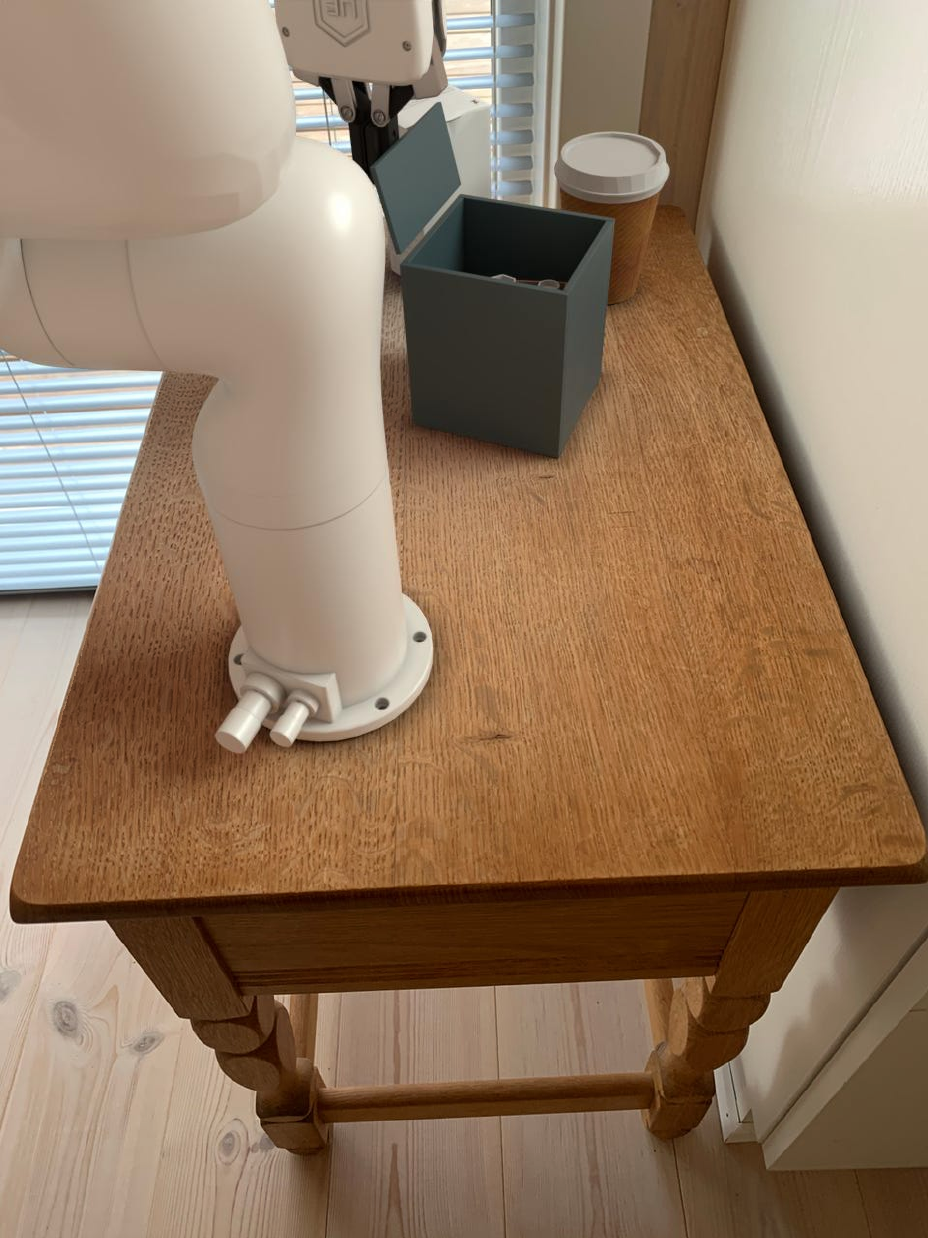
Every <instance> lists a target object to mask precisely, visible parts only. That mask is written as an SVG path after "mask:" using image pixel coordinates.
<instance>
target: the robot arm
mask: <svg viewBox="0 0 928 1238" xmlns="http://www.w3.org/2000/svg"><path fill="white" fill-rule="evenodd" d="M273 6H274V12H273V9H272V6H271V3H270V0H0V350H1V351H3V352H5V353H7V354H8V355H11V356H12V357H15V358H17V359H20V360H22V361H24V362H28V363H32V364H35V365H39V366H45V367H52V368H58V369H59V368H61V369H74V370H75V369H76V370H77V369H79V370H93V371H94V370H95V371H96V370H97V371H99V370H100V371H129V372H130V371H133V372H134V371H136V372H169V373H170V372H171V373H175V374H189V375H190V374H191V375H204V376H209V377H213V378H216V379H218V380H217V382H216V383H215V384H214V386H213V388H212V389H211V391H210V393H209V394H208V396H207V398H206V399H205V401H204V403H202V406H201V409H200V411H199V413H198V415H197V418H196V421H195V424H194V427H193V431H192V432H193V433H192V441H191V456H192V457H191V458H192V463H193V468H194V471H195V476H196V479H197V483H198V486H199V489H200V492H201V494H202V497H203V501H204V505H205V508H206V511H207V514H208V518H209V521H210V524H211V527H212V530H213V535H214V536H215V537H214V538H215V541H216V544H217V547H218V551H219V554H220V557H221V561H222V564H223V567H224V570H225V574H226V577H227V581H228V584H229V586H230V587H229V588H230V591H231V594H232V597H233V600H234V603H235V604H234V605H235V608H236V611H237V614H238V617H239V618H238V619H239V620H240V626H239V627H238V629H237V630H236V633H235V634H234V636H233V640H232V642H231V644H230V648H229V653H228V659H227V660H228V675H229V679H230V682H231V685H232V689H233V691H234V693H235V695H236V697H237V700H238V702H237V704H235V706H234V707H233V708H232V709H231V710H230V712H229V713H228V715H226V717H225V719H224V720H223V721H222V723H221V725H220V726H219V727H218V729H217V730H216V732H215V733H214V738H215V740H216V741H217V743H218V744H219V745H220V747H223V748H224V749H225V750H227V751H229V752H231V753H234V754H240V755H241V754H244V753H246V751H247V750H248V748H249V747H250V745H251V743H252V742H253V740H254V739H255V737H256V736H257V734H258V733H259V731H260V730H261V727H262V726H263V727H264V728H267V729H269V730H270V732H269V737H270V740H271V741H273V742H274V743H275V744H276V745H278V746H280V747H283V748H287V749H288V748H290V747H292V745H293V744H294V742H295V741H296V740H300V741H312V742H330V741H333V742H334V741H341V740H346V739H350V738H351V739H352V738H355V737H359V736H362V735H365V734H367V733H370V732H372V731H376V730H378V729H379V728H381V727H384V726H385V725H387V724H388V723H390V722H392V721H393V720H395V719H397V718H398V717H399V716H400V715H402V713H404V712H405V711H406V710H407V709H409V708H410V707H411V705H412V704H413V703H414V702H415V701H416V700H417V698H418V697H419V696H420V695H421V694H422V692H423V690H424V688H425V686H426V685H427V683H428V681H429V679H430V675H431V672H432V668H433V665H434V643H433V634H432V630H431V627H430V625H429V621H428V618H427V616H425V614H424V613H423V611H422V610H421V608H420V607H419V605H418V604H416V603H415V602H414V601H413V599H411V598H410V596H409V595H407V594H405V593H403V587H402V578H401V577H402V576H401V569H400V559H399V551H398V542H397V531H396V524H395V523H396V522H395V513H394V505H393V504H394V503H393V497H392V488H391V487H392V486H391V478H390V469H389V461H388V451H387V441H386V434H385V433H386V432H385V423H384V412H383V411H384V410H383V401H382V382H381V381H382V378H381V339H382V338H381V337H382V323H383V322H382V321H383V303H384V288H385V270H386V233H385V223H384V217H383V216H384V214H383V210H382V206H381V203H380V200H379V197H378V193H377V190H376V187H374V185H375V183H374V180H373V177H372V174H371V170H370V167H371V166H372V165H373V164H374V163H375V162H376V161H377V160H378V159H379V158H380V157H381V156H382V155H383V154H384V153H385V152H386V151H387V150H388V149H389V148H390V147H391V146H393V145H394V144H395V143H396V142H397V141H398V140H399V127H398V113H399V112H400V111H401V110H402V109H403V108H404V106H405V105H406V104H407V103H408V102H409V101H410V100H415V99H416V100H419V99H426V98H432V97H437V96H439V95H440V94H441V93H442V92H443V91H444V90H445V89H446V87H447V85H448V84H449V80H448V76H447V72H446V67H445V64H444V59H443V58H444V56H445V55H446V51H447V44H448V28H447V27H448V25H447V24H448V22H447V7H446V0H273ZM289 67H290V68H291V71H292V74H293V76H294V78H296V79H297V80H300V81H302V82H304V83H307V84H310V85H311V86H313V87H314V86H315V87H316V88H319V87H320V88H321V90H323V92H324V93H325V94H326V95H327V97H329V99H330V100H331V101H332V102H333V103H334V104H335V106H336V107H337V111H338V115H339V117H340V118H341V120H342V121H344V122H345V123H347V126H348V134H349V143H350V152H351V157H350V156H349V155H347V154H345V152H343V151H342V150H341V151H340V150H339V149H337V148H335V147H334V146H332V145H329V144H327V143H324V142H322V141H319V140H316V139H312V138H309V137H305V136H299V135H297V103H296V95H295V89H294V85H293V80H292V75H291V71H290V68H289ZM370 84H371V85H370Z"/></svg>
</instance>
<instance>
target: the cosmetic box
mask: <svg viewBox="0 0 928 1238" xmlns="http://www.w3.org/2000/svg"><path fill="white" fill-rule="evenodd" d="M436 102H441V104H442V108H443V112H444V116H445V120H446V124H447V128H448V132H449V136H450V140H451V144H452V148H453V152H454V156H455V160H456V164H457V168H458V172H459V176H460V181H461V186H460V187H459V188H458V189H457V190H456V191H455V192H454V194H453V195H452V196H451V197H450V198H449V199H448V201H447V202H446V203H445V204H444V205H443V206H442V208H441V209H440V210H439V211H438V212H437V213H436V214H435V216H434V217H433V218H432V219H431V220H430V221H429V223H428V224H427V225H426V226H425V227H424V228H423V230H422V231H421V232H420V233H419V234H418V235H417V236H416V238H415V239H414V240H413V241H412V242H411V243H410V245H409V246H408V247H407V248H406V249H405V250H404V251H403V253H402V254H398V255H396V252H395V249H394V246H393V242H392V239H391V236H390V232H389V229H388V226H387V225H386V228H387V229H386V230H387V239H388V247H389V248H388V251H389V258H390V259H389V261H390V267H391V270H392V272H393V273H396V275H398V276H400V277H401V274H400V264H401V263H402V262H403V260H404V259H405V258H406V257H407V256H408V254H409V253H410V252H411V251H412V250H413V249H414V247H415V246H416V245H417V244H418V243H419V241H420V240H421V239H422V238H423V237H424V236H425V234H426V233H427V232H428V231H429V230H430V229H431V227H432V226H433V225H434V224H435V223H436V222H437V220H438V219H439V218H440V217H441V216H442V215H443V213H444V212H445V211H446V210H447V209H448V208H449V206H450V205H451V204H452V203H453V202H454V201H455V199H456V198H457V197H458V196H459V195H460V194H465V195H471V196H477V197H484V198H490V199H493V196H492V195H493V194H492V193H493V192H492V183H493V182H492V126H491V124H492V123H491V121H492V119H491V118H492V113H491V110H492V105H491V104H490V103H489V102H487V101H484V100H482V99H480V98H478V97H477V96H474V95H473V94H470V93H469V92H466V91H464V90H462V89H460V88H459V87H456V86H455V85H453V84H450V83H448V85H447V87H446V89H445V90H444V91H443V92H442V93H441V94H440V95H439V96H437V97H432V98H426V99H419V100H416V99H415V100H410V101H409V102H408V103H407V104H406V105H405V106H404V108H403V109H402V110H401V111H400V112H399V113H398V127H399V139H400V138H401V137H402V136H403V135H404V134H405V133H406V132H407V131H408V130H409V129H410V128H411V127H412V126H413V125H414V124H415V123H416V122H417V121H418V120H419V119H420V118H421V117H422V116H423V115H424V114H425V113H426V112H427V111H428V110H429V109H430V108H431V107H432V106H433V105H434V104H435V103H436Z"/></svg>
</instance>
